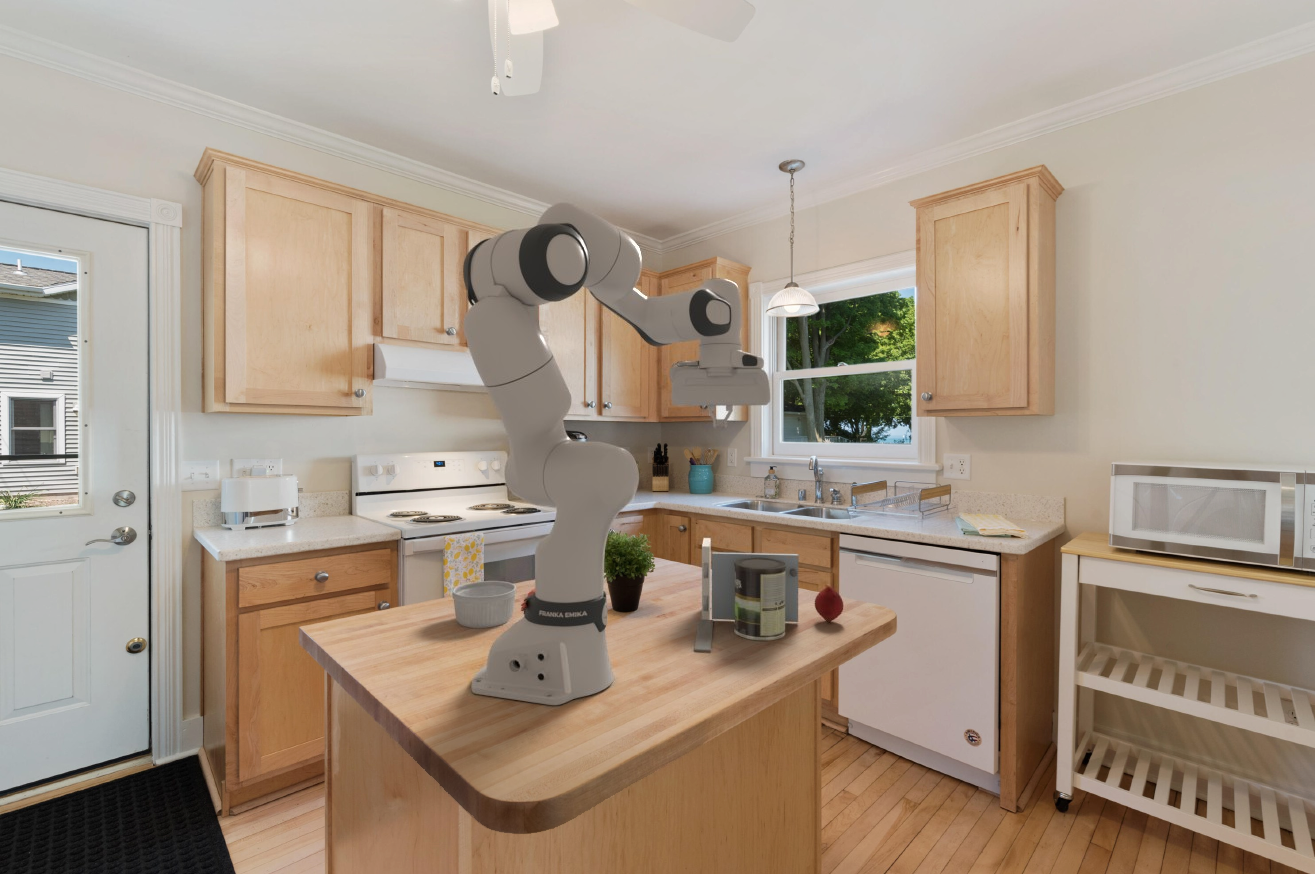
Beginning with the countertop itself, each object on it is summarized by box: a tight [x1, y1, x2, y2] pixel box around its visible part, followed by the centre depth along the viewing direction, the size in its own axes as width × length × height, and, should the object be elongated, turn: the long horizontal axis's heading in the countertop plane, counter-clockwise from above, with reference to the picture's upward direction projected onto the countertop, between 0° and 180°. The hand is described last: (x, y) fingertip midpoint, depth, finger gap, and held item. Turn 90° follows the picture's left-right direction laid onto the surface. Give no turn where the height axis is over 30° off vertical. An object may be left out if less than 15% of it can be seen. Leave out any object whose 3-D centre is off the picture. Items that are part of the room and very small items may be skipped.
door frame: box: [694, 537, 714, 653], centre depth 128 cm, size 3×28×16 cm, turn 174°
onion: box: [814, 583, 844, 623], centre depth 131 cm, size 6×6×8 cm
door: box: [711, 551, 799, 623], centre depth 130 cm, size 18×3×14 cm, turn 84°
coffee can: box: [733, 557, 786, 642], centre depth 125 cm, size 10×10×14 cm
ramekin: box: [451, 580, 517, 629], centre depth 132 cm, size 13×13×7 cm
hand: (720, 428), depth 127 cm, fingers closed
